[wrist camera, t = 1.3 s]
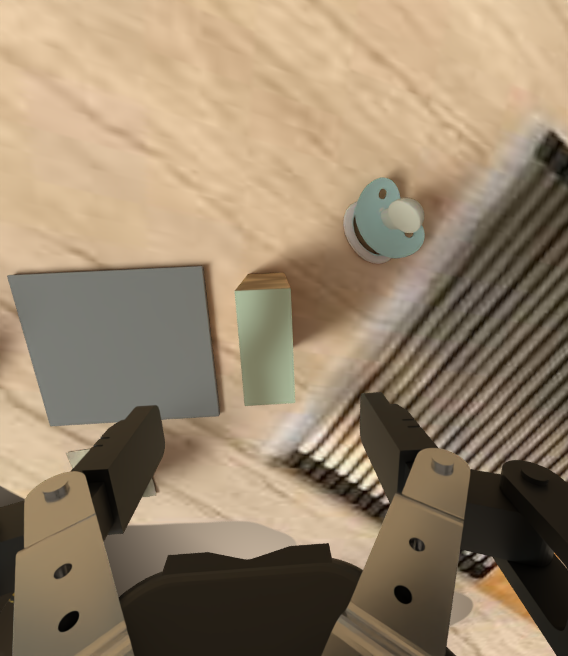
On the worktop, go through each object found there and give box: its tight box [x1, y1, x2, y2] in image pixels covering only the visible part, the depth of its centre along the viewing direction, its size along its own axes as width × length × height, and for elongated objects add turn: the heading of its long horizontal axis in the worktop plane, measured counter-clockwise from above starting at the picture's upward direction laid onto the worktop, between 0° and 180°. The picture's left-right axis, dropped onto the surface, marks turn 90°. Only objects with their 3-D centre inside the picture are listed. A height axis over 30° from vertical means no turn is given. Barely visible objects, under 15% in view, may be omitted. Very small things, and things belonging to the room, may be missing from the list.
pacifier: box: [343, 178, 425, 264], centre depth 26 cm, size 7×6×6 cm
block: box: [235, 273, 295, 406], centre depth 25 cm, size 4×8×11 cm, turn 2°
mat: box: [7, 266, 220, 426], centre depth 31 cm, size 18×16×1 cm
